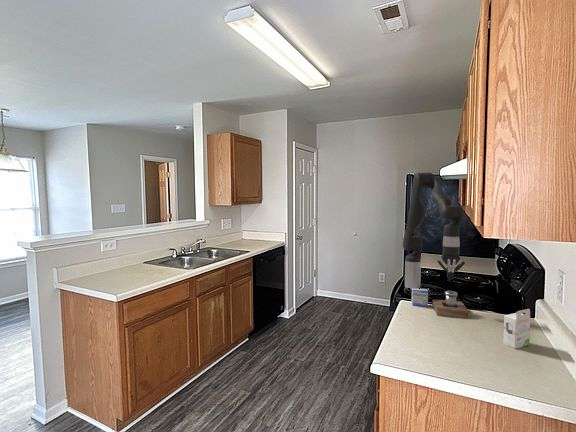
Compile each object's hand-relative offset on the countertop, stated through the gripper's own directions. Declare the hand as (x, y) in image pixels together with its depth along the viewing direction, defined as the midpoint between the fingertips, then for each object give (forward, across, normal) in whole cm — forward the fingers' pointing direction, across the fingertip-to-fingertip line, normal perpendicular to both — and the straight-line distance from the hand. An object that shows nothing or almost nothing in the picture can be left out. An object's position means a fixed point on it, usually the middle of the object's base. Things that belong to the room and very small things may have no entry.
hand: (450, 279), depth 161 cm
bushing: (+17, 0, 0) cm, 17 cm away
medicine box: (+17, +13, -7) cm, 23 cm away
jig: (+17, 0, 0) cm, 17 cm away
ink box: (+17, -18, +32) cm, 41 cm away
